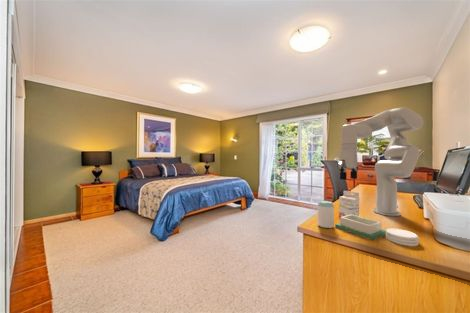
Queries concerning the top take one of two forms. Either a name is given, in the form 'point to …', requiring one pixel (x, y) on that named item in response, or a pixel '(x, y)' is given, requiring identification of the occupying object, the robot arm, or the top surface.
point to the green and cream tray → (361, 226)
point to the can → (325, 214)
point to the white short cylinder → (402, 237)
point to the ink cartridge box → (349, 204)
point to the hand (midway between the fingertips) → (348, 179)
